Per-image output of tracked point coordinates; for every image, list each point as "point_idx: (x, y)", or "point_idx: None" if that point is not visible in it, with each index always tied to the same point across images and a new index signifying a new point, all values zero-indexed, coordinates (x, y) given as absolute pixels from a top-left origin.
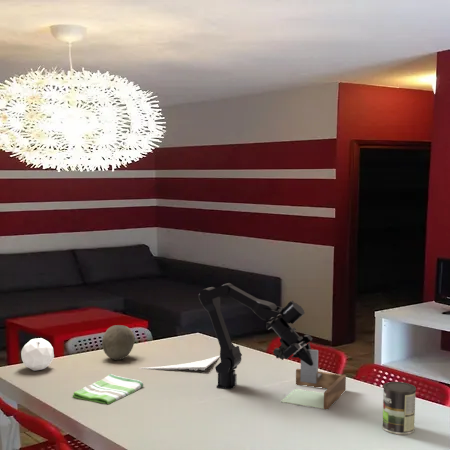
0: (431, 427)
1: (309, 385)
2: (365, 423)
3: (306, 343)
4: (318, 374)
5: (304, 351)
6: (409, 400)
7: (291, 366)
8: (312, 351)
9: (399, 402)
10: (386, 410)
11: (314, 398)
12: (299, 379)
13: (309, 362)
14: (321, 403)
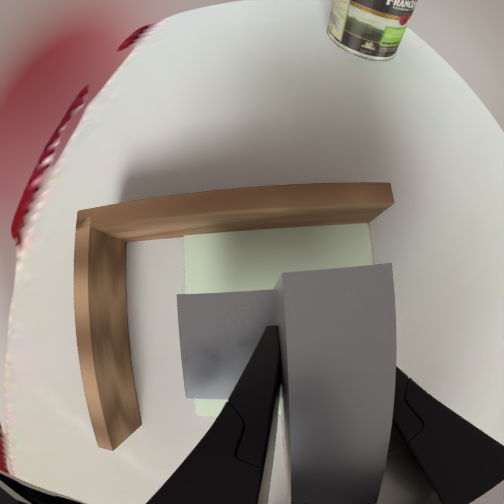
0: (307, 6)
1: (130, 374)
2: (387, 90)
3: (41, 495)
4: (202, 309)
5: (461, 438)
6: None
7: (27, 443)
8: (391, 358)
9: None
10: (407, 22)
11: None
12: (128, 420)
13: None
14: (324, 250)
